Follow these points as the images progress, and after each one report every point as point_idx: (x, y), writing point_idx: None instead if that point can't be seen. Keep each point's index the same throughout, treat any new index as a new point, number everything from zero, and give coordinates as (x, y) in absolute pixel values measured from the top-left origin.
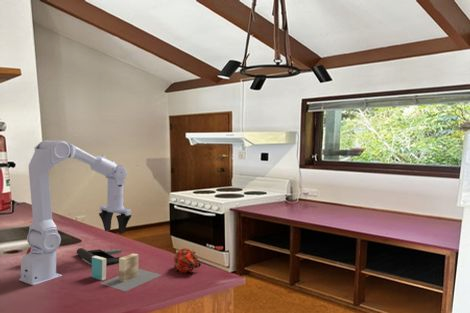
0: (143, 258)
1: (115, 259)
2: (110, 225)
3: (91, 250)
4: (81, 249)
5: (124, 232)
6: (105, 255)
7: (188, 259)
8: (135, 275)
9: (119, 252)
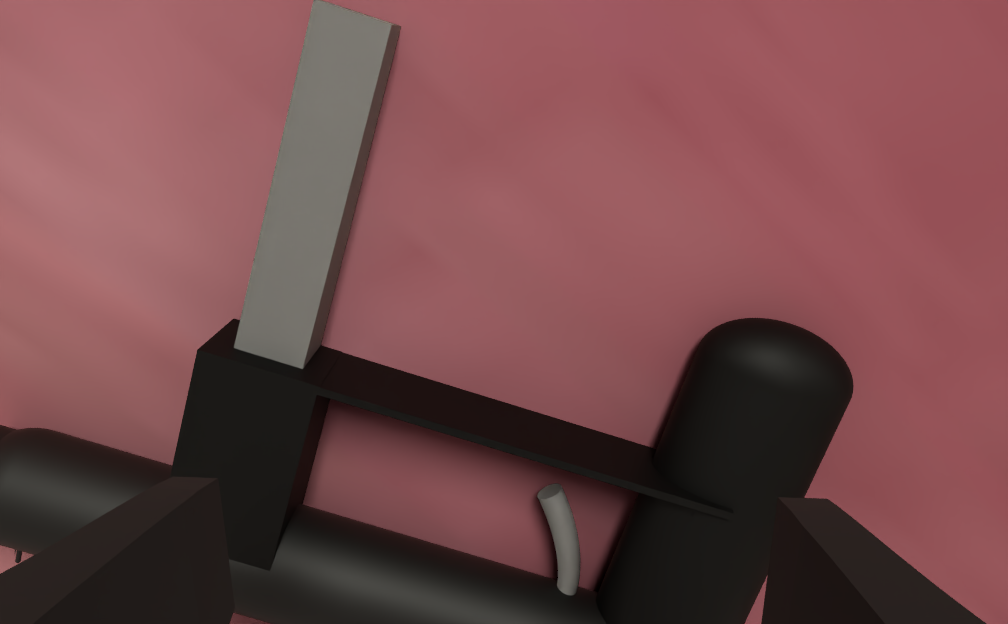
0: (972, 44)
1: (773, 525)
2: (143, 547)
3: None
4: (41, 547)
5: (843, 516)
6: (440, 413)
7: None
8: None
9: (390, 65)
